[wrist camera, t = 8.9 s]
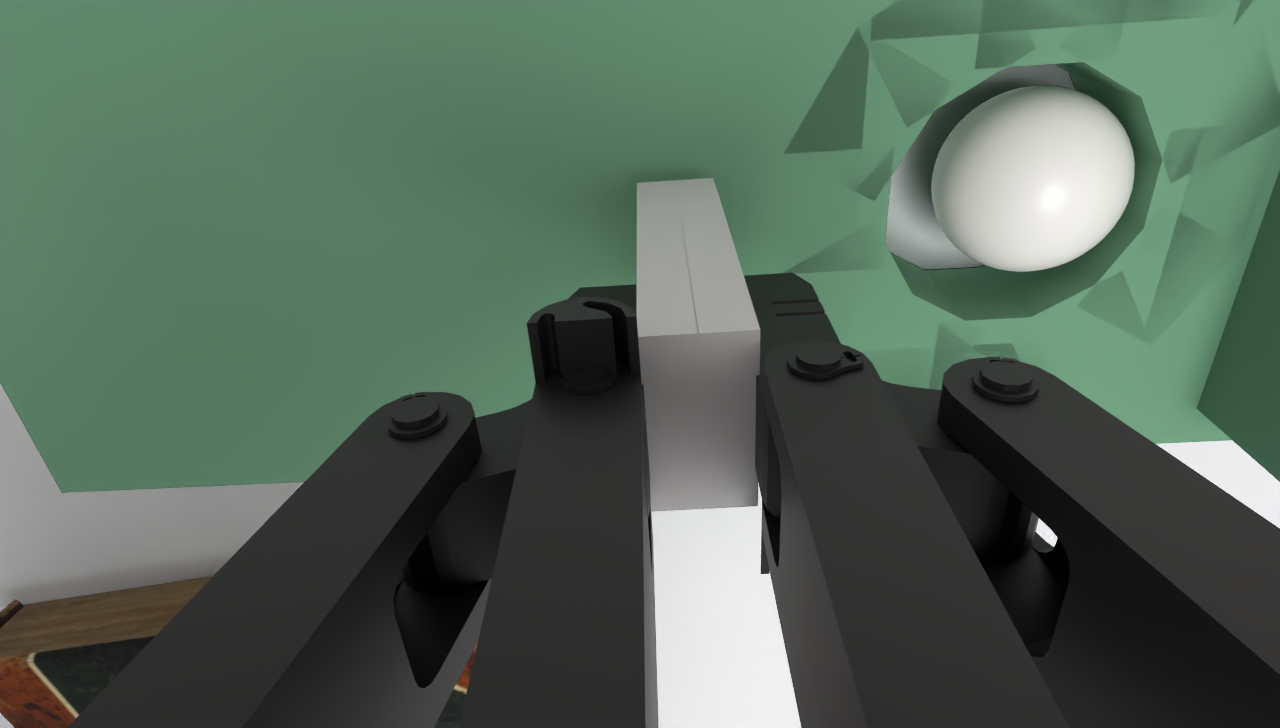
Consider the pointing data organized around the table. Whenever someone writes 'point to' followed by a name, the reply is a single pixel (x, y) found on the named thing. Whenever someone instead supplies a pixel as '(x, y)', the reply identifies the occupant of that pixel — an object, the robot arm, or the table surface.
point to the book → (99, 651)
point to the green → (581, 205)
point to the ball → (1033, 178)
